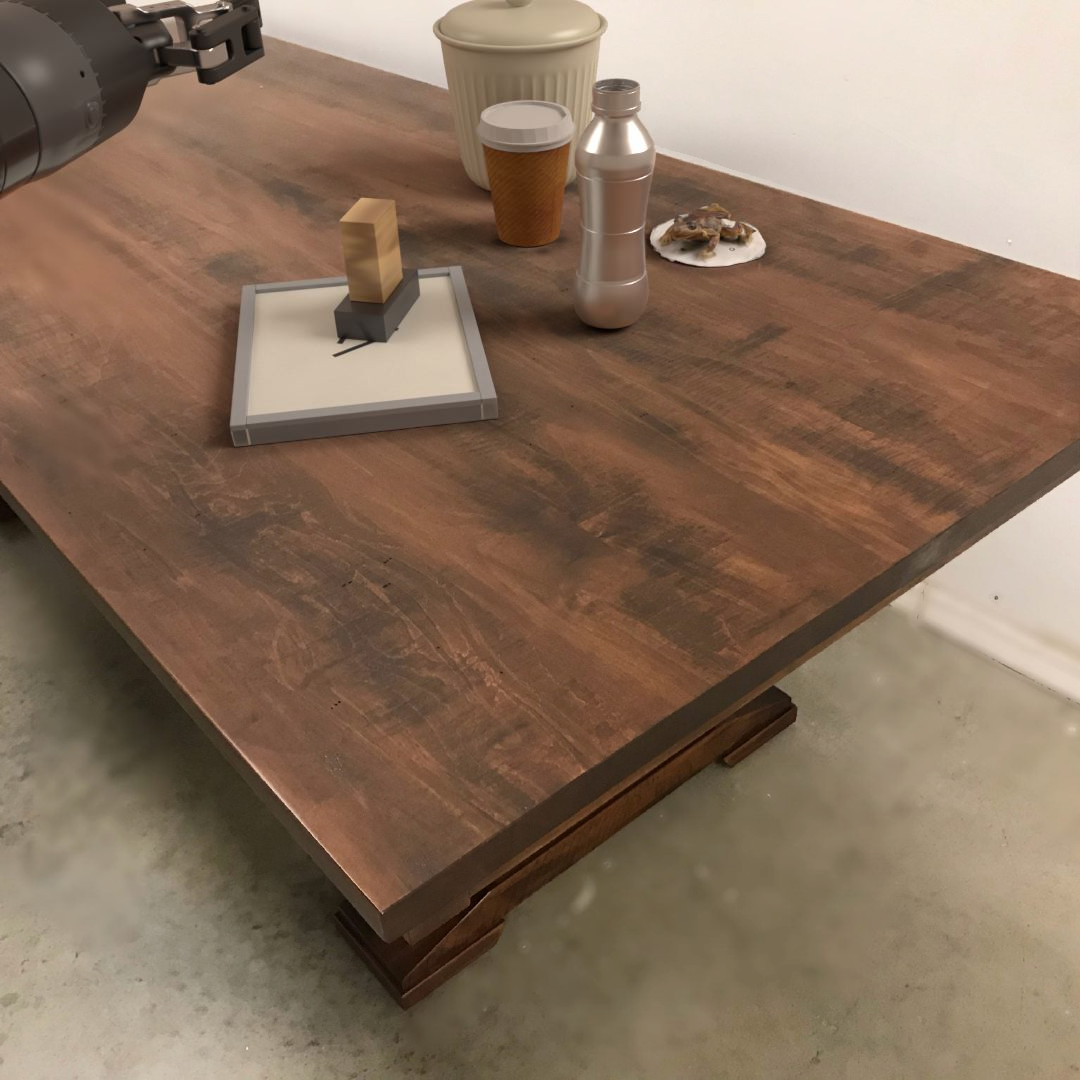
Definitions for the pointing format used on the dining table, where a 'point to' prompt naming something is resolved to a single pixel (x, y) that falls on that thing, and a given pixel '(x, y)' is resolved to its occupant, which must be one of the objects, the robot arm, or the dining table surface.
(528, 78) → the canister
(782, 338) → the dining table surface
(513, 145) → the disposable coffee cup
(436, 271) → the whiteboard
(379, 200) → the eraser
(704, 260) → the frog figurine
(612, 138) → the silver bottle
